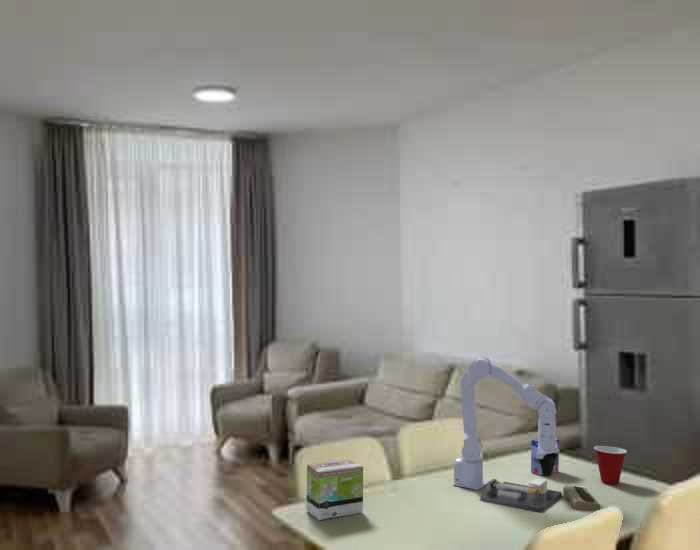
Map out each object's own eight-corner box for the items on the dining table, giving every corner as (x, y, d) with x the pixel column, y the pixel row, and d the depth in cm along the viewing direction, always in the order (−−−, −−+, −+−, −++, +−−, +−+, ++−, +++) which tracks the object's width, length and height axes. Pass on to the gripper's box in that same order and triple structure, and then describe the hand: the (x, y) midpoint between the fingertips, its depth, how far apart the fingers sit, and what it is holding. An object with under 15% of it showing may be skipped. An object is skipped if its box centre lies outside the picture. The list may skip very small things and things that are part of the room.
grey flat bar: (491, 488, 233) (491, 483, 233) (496, 485, 236) (496, 480, 236) (534, 495, 225) (534, 490, 225) (539, 492, 228) (538, 487, 228)
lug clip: (529, 495, 230) (529, 483, 230) (536, 489, 235) (536, 478, 235) (539, 497, 228) (539, 484, 228) (547, 491, 233) (547, 479, 233)
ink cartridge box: (542, 476, 254) (542, 436, 254) (530, 473, 259) (529, 433, 259) (560, 471, 260) (559, 432, 260) (548, 468, 265) (547, 429, 264)
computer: (601, 511, 220) (600, 500, 220) (574, 510, 220) (574, 500, 220) (587, 494, 235) (587, 484, 235) (562, 494, 236) (562, 484, 236)
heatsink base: (480, 500, 229) (480, 486, 229) (504, 485, 245) (504, 472, 245) (540, 512, 218) (540, 497, 218) (561, 495, 233) (561, 482, 233)
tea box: (319, 521, 211) (319, 472, 211) (306, 511, 220) (305, 464, 220) (364, 513, 218) (363, 465, 218) (349, 503, 227) (348, 457, 227)
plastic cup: (633, 483, 245) (633, 448, 245) (614, 489, 239) (614, 453, 239) (607, 476, 254) (606, 442, 254) (587, 481, 248) (587, 447, 248)
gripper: (551, 441, 230) (551, 483, 230) (566, 432, 242) (566, 472, 242) (530, 438, 234) (530, 479, 234) (546, 429, 246) (546, 469, 246)
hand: (547, 475), depth 238 cm, fingers closed
